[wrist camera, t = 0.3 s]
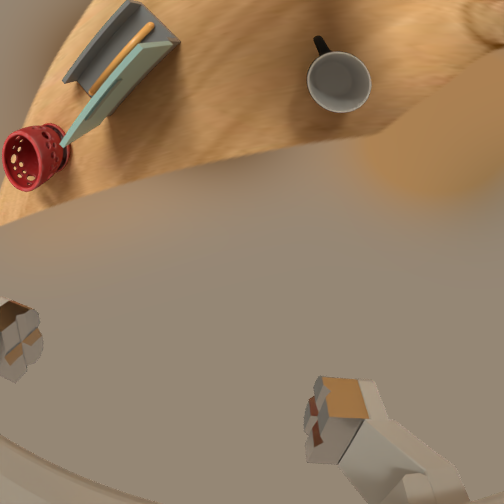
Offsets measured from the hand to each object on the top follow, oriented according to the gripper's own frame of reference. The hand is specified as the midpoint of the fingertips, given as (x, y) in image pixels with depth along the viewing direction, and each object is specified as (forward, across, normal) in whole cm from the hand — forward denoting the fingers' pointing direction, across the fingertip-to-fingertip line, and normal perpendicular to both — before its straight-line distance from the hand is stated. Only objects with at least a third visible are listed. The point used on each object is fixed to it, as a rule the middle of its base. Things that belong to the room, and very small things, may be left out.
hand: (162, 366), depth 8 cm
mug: (+47, -9, -22) cm, 52 cm away
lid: (+39, +24, -13) cm, 47 cm away
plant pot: (+55, +46, -3) cm, 72 cm away
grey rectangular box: (+49, +28, -20) cm, 60 cm away
